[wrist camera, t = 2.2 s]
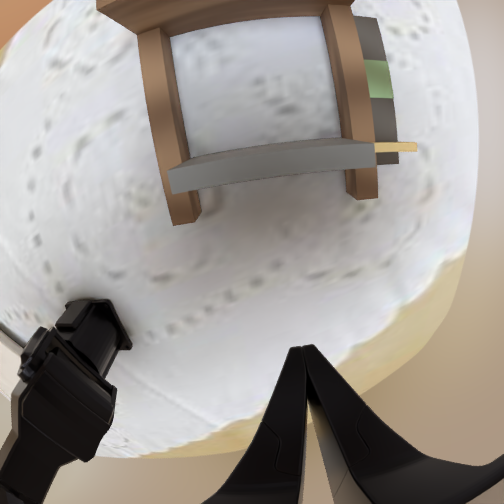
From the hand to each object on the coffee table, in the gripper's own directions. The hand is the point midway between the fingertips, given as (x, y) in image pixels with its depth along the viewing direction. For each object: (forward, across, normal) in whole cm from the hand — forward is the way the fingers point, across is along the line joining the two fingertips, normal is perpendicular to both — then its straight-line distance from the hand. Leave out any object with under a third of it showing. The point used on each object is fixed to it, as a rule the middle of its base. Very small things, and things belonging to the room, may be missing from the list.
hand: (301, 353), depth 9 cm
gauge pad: (+12, -2, -6) cm, 13 cm away
